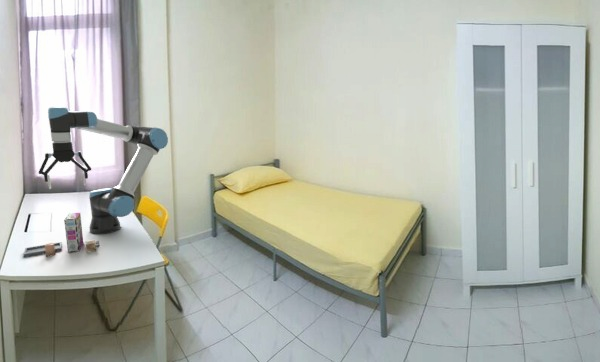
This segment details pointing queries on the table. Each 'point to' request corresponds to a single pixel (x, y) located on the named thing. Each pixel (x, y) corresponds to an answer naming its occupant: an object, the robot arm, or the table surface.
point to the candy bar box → (73, 232)
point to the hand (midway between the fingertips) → (68, 186)
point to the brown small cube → (50, 249)
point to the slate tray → (40, 249)
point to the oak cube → (90, 246)
